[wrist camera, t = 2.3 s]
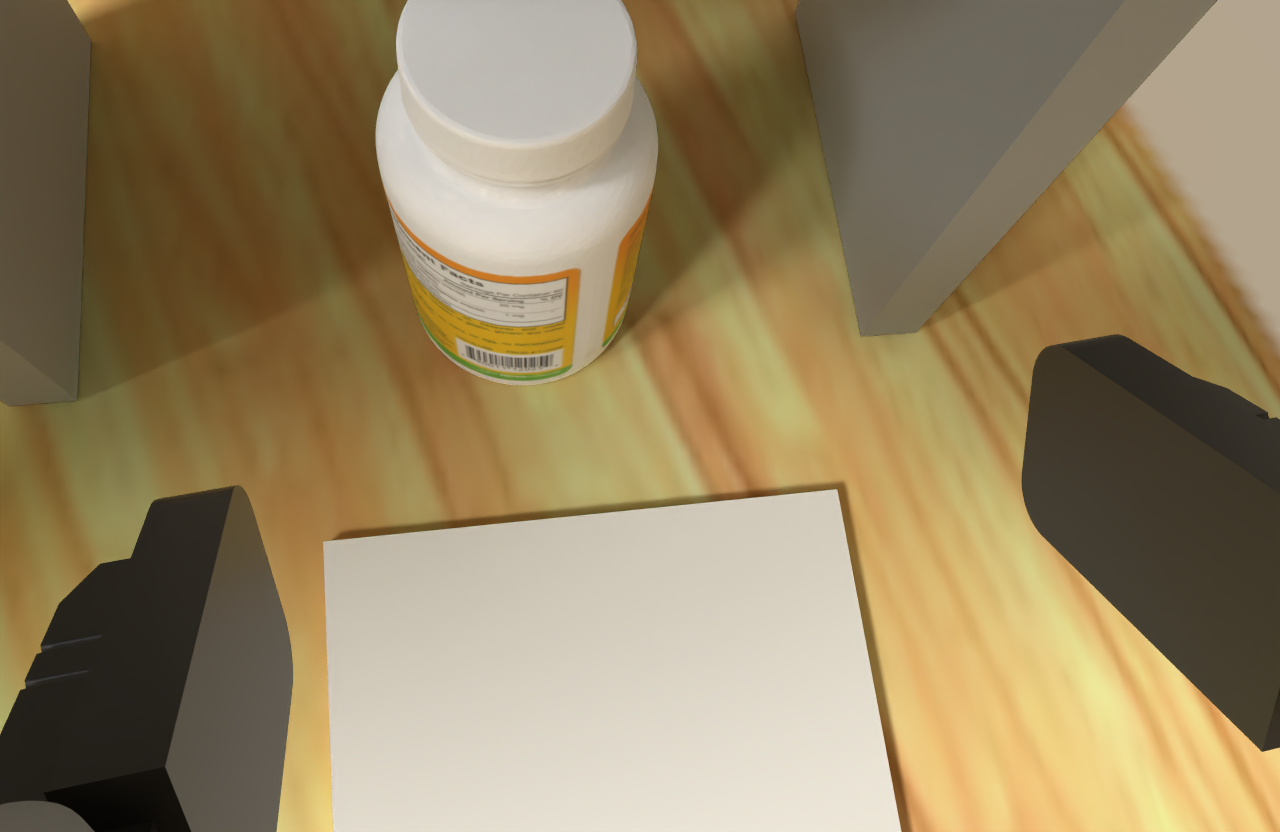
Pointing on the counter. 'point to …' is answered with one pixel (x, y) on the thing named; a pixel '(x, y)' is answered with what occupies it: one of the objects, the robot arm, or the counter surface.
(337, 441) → the counter surface
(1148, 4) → the grey rectangular arch
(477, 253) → the supplement bottle
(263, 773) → the robot arm
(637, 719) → the white flat rectangular board
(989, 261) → the counter surface
